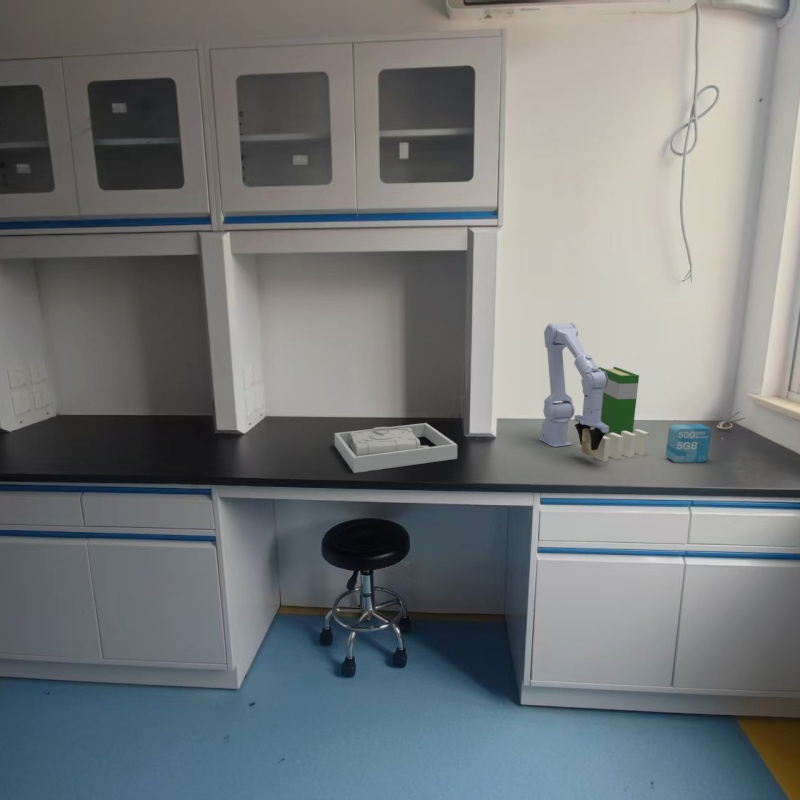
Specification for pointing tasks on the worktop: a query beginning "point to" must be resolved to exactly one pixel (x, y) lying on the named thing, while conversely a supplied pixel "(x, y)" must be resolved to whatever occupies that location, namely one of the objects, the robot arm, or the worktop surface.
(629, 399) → the hardback book
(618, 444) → the domino
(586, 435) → the domino
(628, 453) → the domino
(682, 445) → the data package
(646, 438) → the domino
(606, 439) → the domino
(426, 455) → the tray
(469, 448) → the worktop surface
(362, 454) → the grey case
